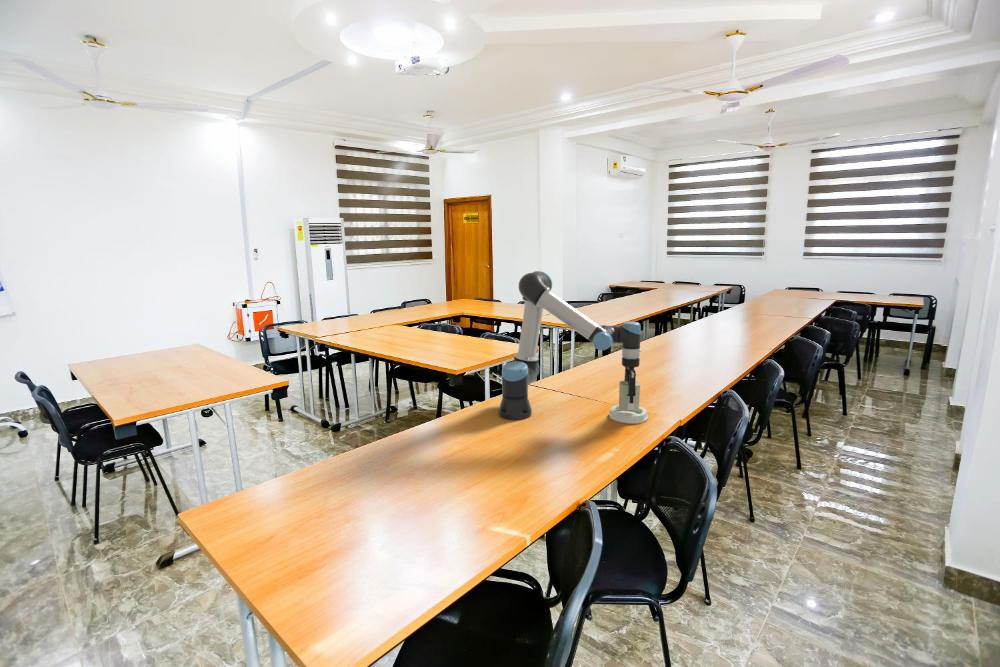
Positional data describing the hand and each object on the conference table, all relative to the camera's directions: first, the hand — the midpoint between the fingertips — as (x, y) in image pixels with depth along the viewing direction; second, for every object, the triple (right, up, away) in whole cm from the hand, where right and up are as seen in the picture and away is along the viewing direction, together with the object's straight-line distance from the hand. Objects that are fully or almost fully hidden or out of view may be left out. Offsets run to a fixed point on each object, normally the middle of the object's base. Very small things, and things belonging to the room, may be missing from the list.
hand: (628, 406), depth 221 cm
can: (0, -1, 0) cm, 1 cm away
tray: (0, -5, +1) cm, 5 cm away
